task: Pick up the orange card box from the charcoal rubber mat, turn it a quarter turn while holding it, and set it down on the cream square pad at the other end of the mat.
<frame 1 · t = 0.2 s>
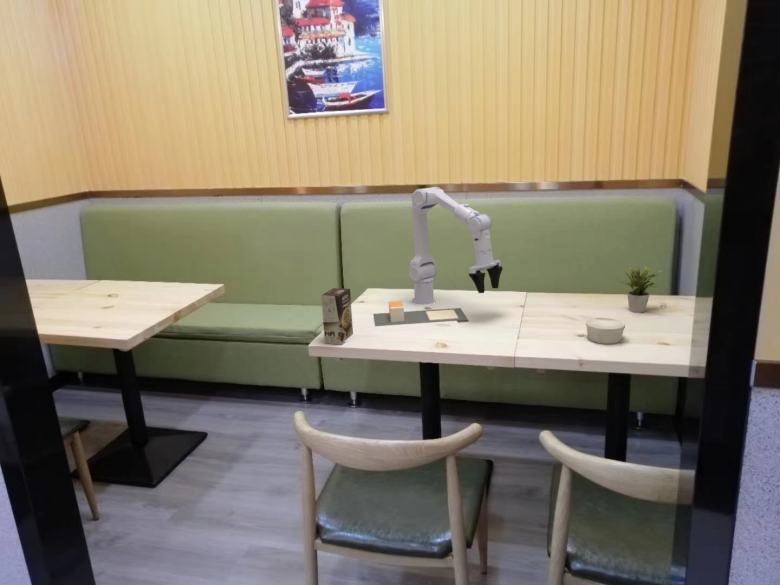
hand: (488, 290, 198), 10 cm above the table, tool pointing down, fingers open, 7 cm apart
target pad: (441, 316, 206), resting on mat
house plant: (638, 312, 202), on the table
card box: (396, 318, 205), point 1 cm above the table, touching mat
mat: (419, 318, 206), on the table
coffee box: (339, 340, 189), on the table
ramekin: (604, 339, 178), on the table
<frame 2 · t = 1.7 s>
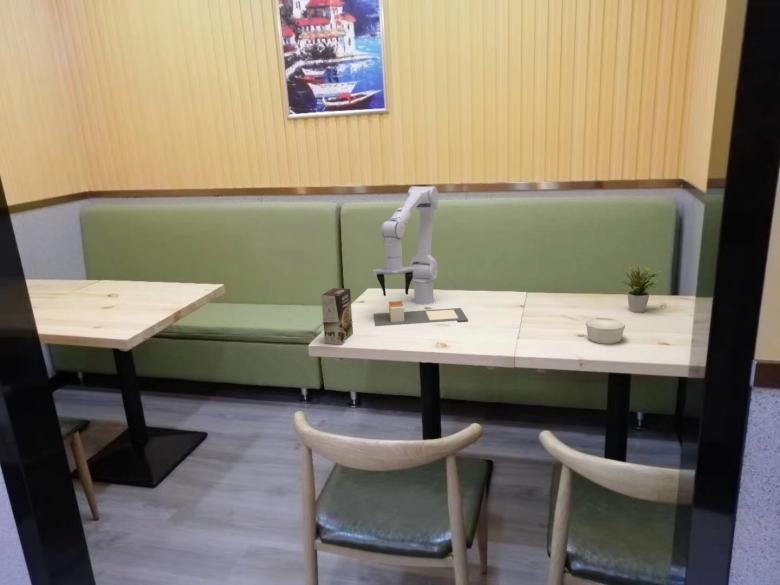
hand: (395, 294, 203), 9 cm above the table, tool pointing down, fingers open, 7 cm apart
nothing on the table moved.
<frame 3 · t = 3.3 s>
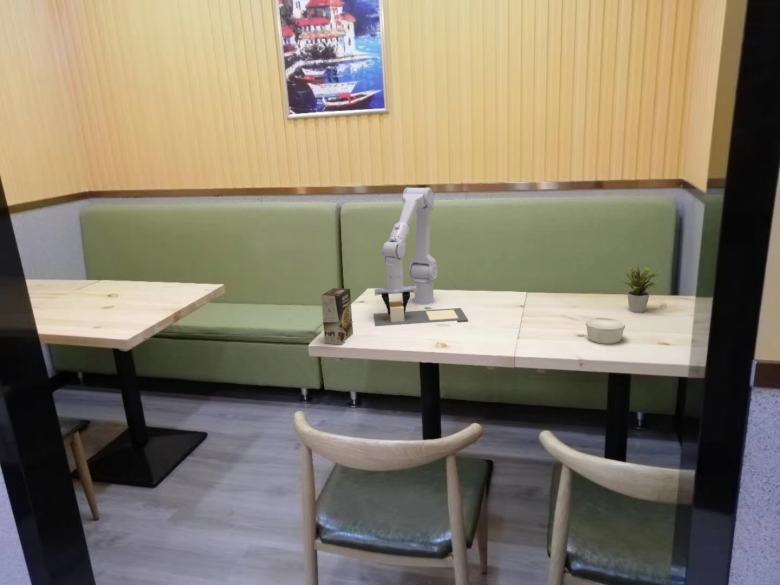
hand: (396, 313, 205), 2 cm above the table, tool pointing down, fingers closed on card box, 5 cm apart
card box: (396, 318, 205), point 1 cm above the table, touching gripper, mat
everything else where it was.
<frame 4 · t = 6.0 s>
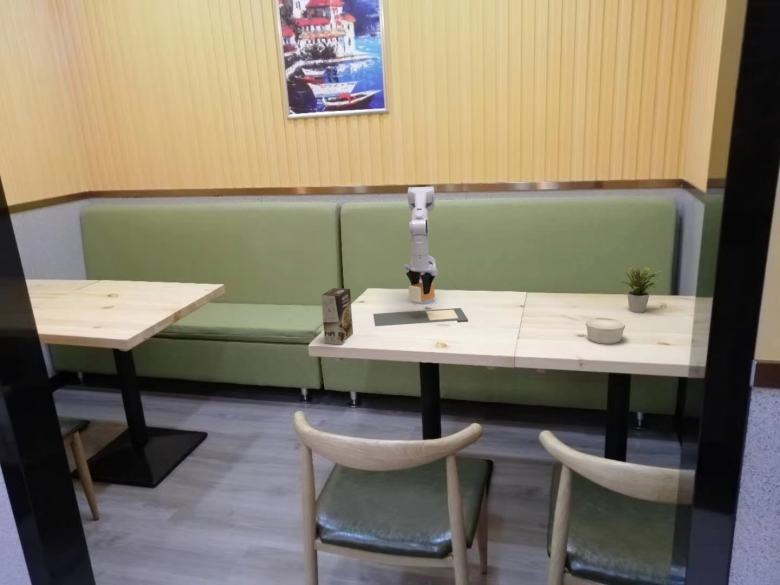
hand: (421, 292, 204), 9 cm above the table, tool pointing down, fingers closed on card box, 5 cm apart
card box: (421, 298, 204), point 7 cm above the table, touching gripper
everything else where it was.
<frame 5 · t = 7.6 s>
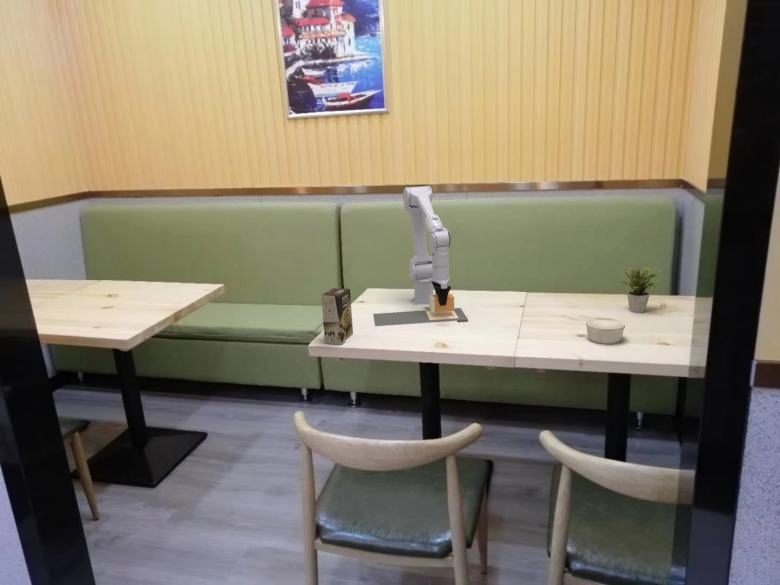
hand: (441, 303, 205), 5 cm above the table, tool pointing down, fingers closed on card box, 5 cm apart
card box: (441, 309, 206), point 3 cm above the table, touching gripper
everything else where it was.
when the fingers open (4 cm above the table, at t = 8.8 s): card box stays where it is, resting on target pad.
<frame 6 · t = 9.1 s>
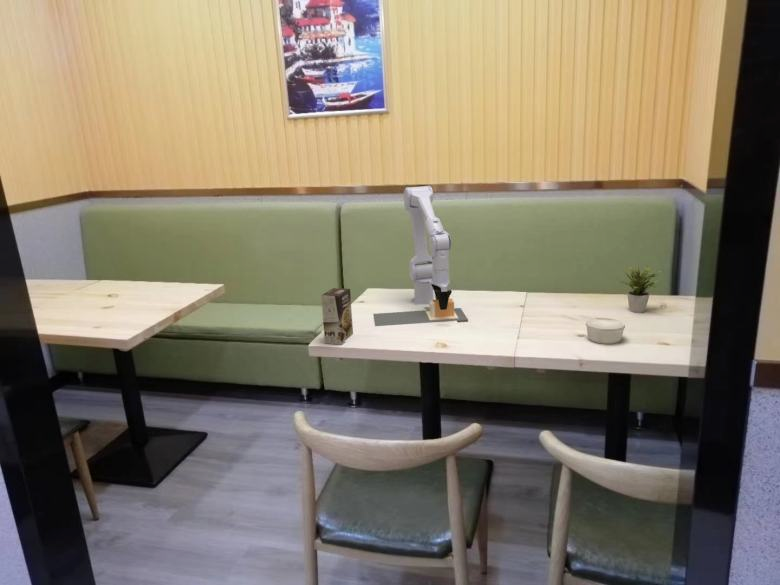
hand: (441, 306, 205), 4 cm above the table, tool pointing down, fingers open, 7 cm apart
card box: (441, 314, 206), point 1 cm above the table, touching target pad
everything else where it was.
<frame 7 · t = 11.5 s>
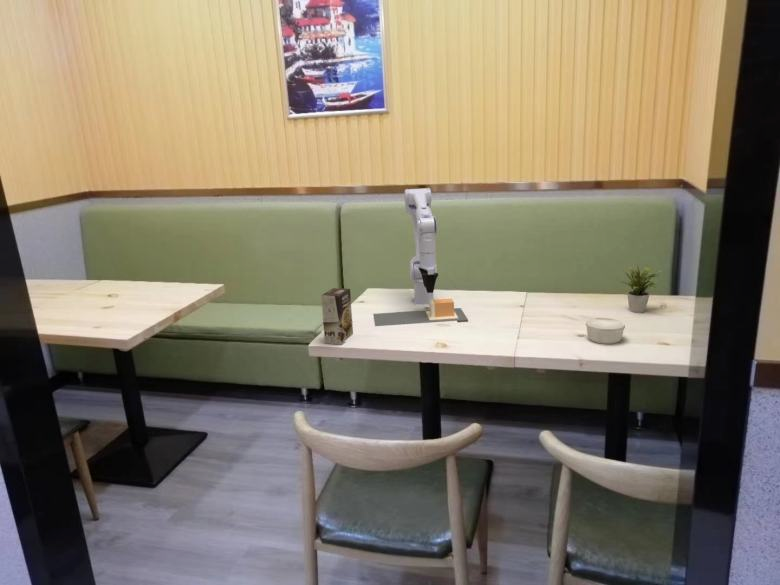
hand: (428, 289, 207), 9 cm above the table, tool pointing down, fingers open, 7 cm apart
nothing on the table moved.
at the end: card box inside the target area on the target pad (0.0 cm from its centre), point 0.8 cm above the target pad's base; card box tilted 0°; the gripper is holding nothing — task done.
